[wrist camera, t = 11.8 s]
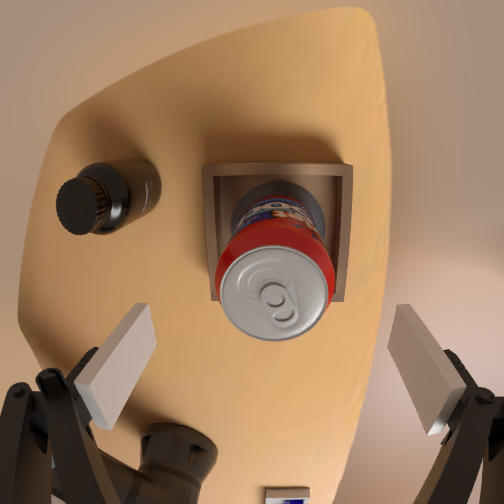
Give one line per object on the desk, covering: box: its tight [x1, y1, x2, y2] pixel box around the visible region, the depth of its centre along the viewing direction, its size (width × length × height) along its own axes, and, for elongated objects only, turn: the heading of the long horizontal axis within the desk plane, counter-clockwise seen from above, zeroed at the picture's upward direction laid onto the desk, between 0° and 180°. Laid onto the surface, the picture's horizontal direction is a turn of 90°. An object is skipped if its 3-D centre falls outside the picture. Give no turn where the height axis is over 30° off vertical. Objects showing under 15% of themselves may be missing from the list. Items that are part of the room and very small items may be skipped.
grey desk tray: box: [266, 488, 310, 504], centre depth 54 cm, size 10×14×3 cm
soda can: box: [215, 195, 335, 342], centre depth 25 cm, size 8×8×15 cm
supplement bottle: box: [56, 158, 161, 235], centre depth 27 cm, size 7×7×12 cm
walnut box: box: [202, 162, 353, 302], centre depth 31 cm, size 14×14×4 cm
